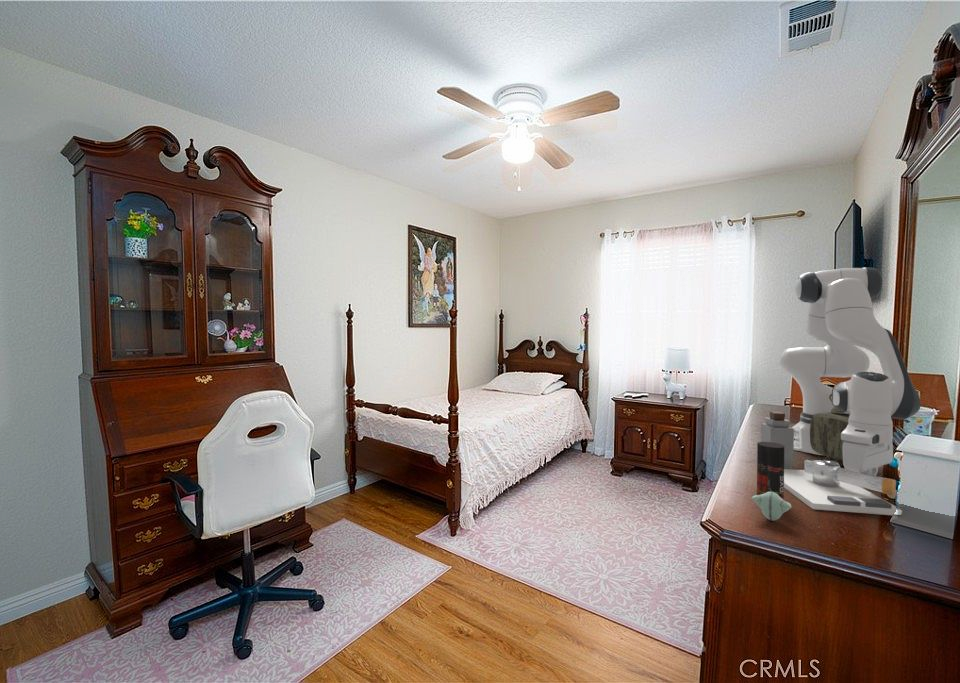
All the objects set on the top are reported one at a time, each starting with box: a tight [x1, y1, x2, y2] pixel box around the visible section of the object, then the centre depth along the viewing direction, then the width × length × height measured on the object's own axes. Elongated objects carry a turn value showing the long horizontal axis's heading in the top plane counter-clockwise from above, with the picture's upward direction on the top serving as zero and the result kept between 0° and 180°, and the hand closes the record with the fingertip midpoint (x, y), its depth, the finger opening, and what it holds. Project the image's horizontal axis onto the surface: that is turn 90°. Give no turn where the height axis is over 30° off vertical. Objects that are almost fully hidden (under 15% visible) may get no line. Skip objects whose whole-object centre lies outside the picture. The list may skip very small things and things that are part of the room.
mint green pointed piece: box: [751, 492, 792, 522], centre depth 100 cm, size 8×4×7 cm, turn 47°
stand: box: [784, 469, 897, 516], centre depth 118 cm, size 28×19×3 cm
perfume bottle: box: [760, 411, 795, 470], centre depth 139 cm, size 7×7×18 cm
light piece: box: [803, 459, 897, 496], centre depth 115 cm, size 20×6×6 cm, turn 27°
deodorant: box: [756, 441, 785, 501], centre depth 111 cm, size 6×6×15 cm
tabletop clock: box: [810, 394, 850, 462], centre depth 137 cm, size 14×9×25 cm, turn 17°
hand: (868, 483), depth 114 cm, fingers closed
